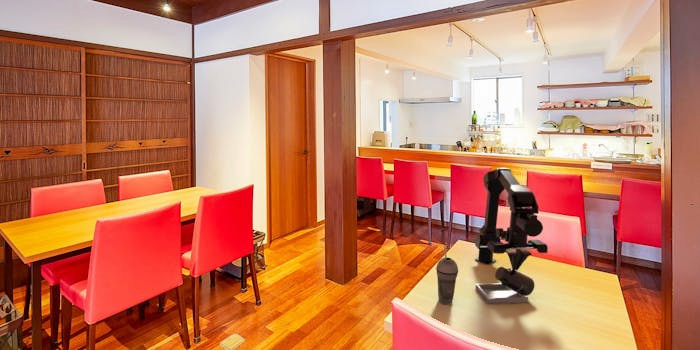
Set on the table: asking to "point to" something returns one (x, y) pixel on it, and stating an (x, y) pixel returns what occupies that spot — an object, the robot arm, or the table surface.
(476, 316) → the table surface
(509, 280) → the supplement bottle
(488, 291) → the tray
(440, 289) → the beverage cup
